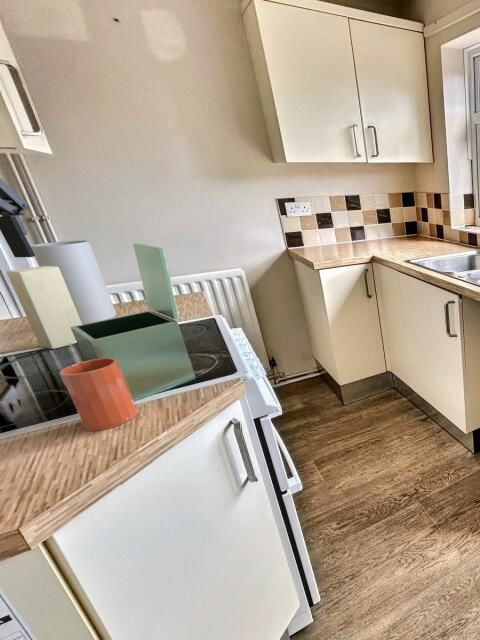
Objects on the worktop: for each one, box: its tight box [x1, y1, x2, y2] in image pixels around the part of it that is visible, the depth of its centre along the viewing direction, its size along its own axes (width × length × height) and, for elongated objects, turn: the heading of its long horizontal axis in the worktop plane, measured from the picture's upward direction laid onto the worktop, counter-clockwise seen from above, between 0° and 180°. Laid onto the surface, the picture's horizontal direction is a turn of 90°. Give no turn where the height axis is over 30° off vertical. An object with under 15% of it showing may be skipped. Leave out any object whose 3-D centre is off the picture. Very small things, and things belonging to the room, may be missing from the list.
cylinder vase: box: [30, 239, 118, 324], centre depth 132 cm, size 12×12×25 cm
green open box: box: [71, 309, 198, 402], centre depth 90 cm, size 14×16×14 cm
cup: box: [59, 358, 139, 432], centre depth 76 cm, size 7×7×11 cm
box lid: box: [132, 242, 180, 320], centre depth 90 cm, size 14×16×1 cm
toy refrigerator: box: [6, 266, 82, 350], centre depth 114 cm, size 8×7×21 cm
